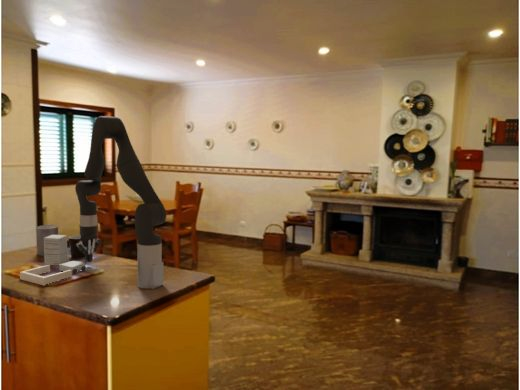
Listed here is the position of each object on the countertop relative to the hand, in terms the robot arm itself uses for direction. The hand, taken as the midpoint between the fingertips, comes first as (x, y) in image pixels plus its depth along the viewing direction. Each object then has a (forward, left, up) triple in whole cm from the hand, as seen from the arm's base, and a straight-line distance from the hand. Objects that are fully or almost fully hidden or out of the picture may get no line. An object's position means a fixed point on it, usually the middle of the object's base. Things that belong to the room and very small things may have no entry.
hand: (89, 261), depth 188 cm
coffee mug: (+17, -9, -2) cm, 19 cm away
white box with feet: (0, +9, -2) cm, 9 cm away
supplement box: (+16, +5, -2) cm, 17 cm away
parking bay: (0, +22, -2) cm, 22 cm away
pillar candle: (+34, -4, -2) cm, 34 cm away
